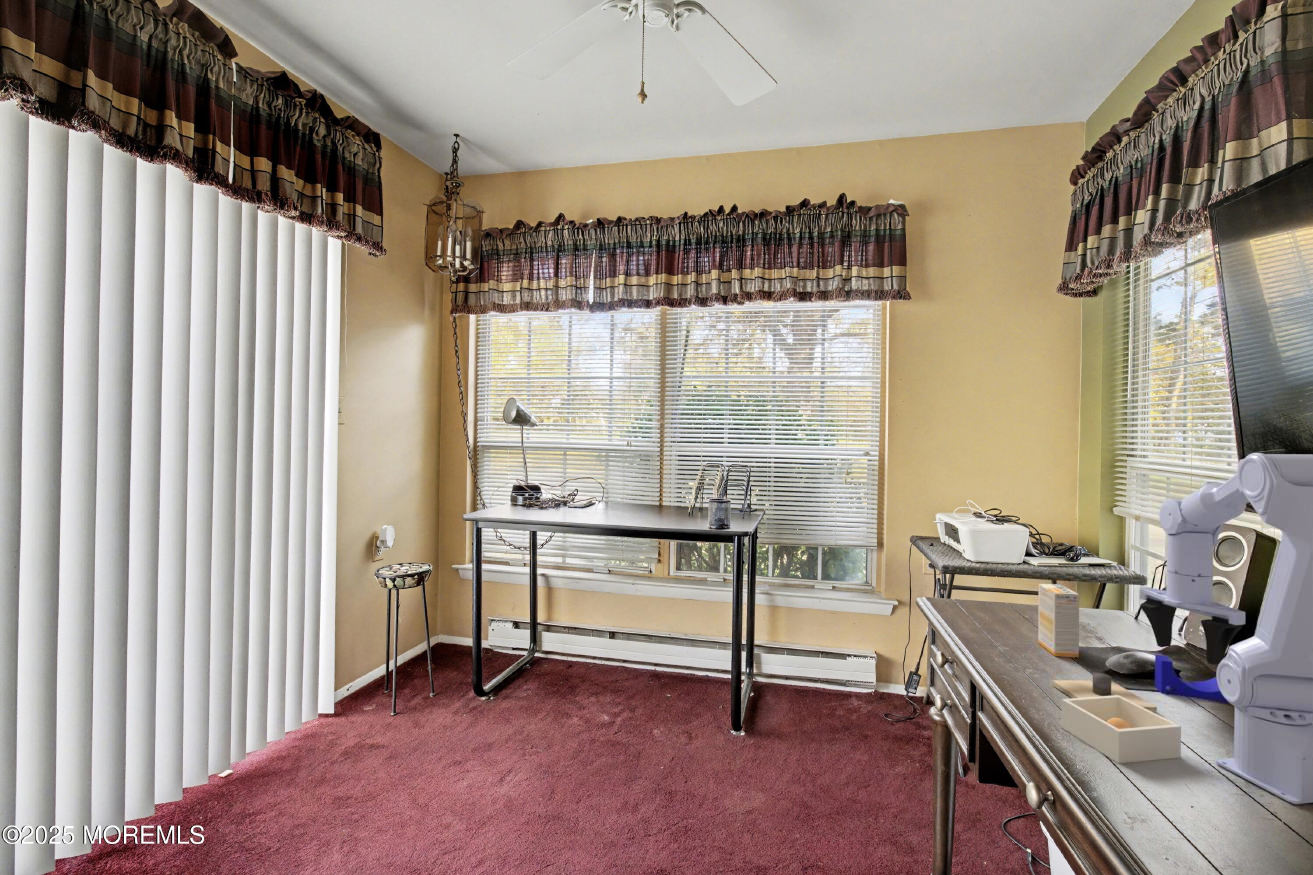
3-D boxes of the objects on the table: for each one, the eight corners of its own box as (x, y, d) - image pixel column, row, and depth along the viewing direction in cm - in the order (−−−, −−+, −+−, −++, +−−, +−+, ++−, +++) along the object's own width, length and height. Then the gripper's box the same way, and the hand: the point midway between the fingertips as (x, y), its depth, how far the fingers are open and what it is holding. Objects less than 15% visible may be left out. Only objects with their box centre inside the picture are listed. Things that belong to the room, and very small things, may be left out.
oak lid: (1156, 715, 99) (1156, 689, 99) (1092, 715, 99) (1092, 689, 99) (1110, 687, 109) (1110, 663, 109) (1052, 687, 109) (1052, 663, 109)
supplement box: (1080, 658, 122) (1081, 594, 122) (1054, 656, 123) (1054, 593, 123) (1061, 643, 130) (1062, 583, 130) (1037, 642, 131) (1037, 582, 131)
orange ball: (1136, 742, 89) (1136, 722, 89) (1118, 744, 88) (1118, 724, 88) (1118, 732, 92) (1118, 713, 92) (1100, 734, 91) (1100, 714, 91)
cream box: (1180, 757, 86) (1181, 726, 86) (1118, 763, 84) (1118, 731, 84) (1117, 722, 96) (1118, 694, 96) (1061, 727, 94) (1061, 699, 94)
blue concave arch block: (1236, 694, 106) (1236, 661, 105) (1249, 706, 101) (1250, 671, 101) (1151, 683, 110) (1152, 651, 110) (1161, 694, 106) (1161, 660, 106)
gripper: (1126, 564, 105) (1125, 641, 106) (1221, 585, 91) (1220, 674, 91) (1157, 561, 107) (1156, 637, 107) (1256, 582, 93) (1254, 669, 93)
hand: (1188, 654), depth 99 cm, fingers open, 7 cm apart
